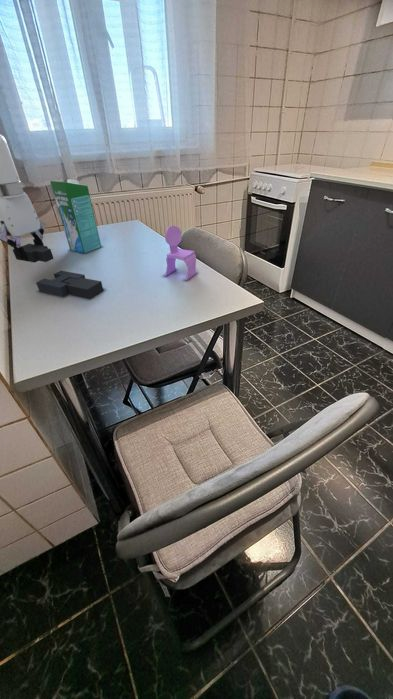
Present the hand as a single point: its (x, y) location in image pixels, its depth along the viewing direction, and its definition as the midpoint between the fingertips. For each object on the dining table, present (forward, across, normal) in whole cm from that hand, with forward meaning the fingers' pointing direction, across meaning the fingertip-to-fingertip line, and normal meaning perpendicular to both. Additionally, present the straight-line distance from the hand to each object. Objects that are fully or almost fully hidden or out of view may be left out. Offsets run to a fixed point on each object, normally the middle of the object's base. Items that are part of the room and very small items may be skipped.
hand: (32, 255), depth 90 cm
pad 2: (+9, 0, +17) cm, 19 cm away
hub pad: (+9, 0, +9) cm, 13 cm away
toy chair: (+9, -22, +39) cm, 46 cm away
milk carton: (+9, -32, -11) cm, 35 cm away
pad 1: (+1, 0, +1) cm, 2 cm away
